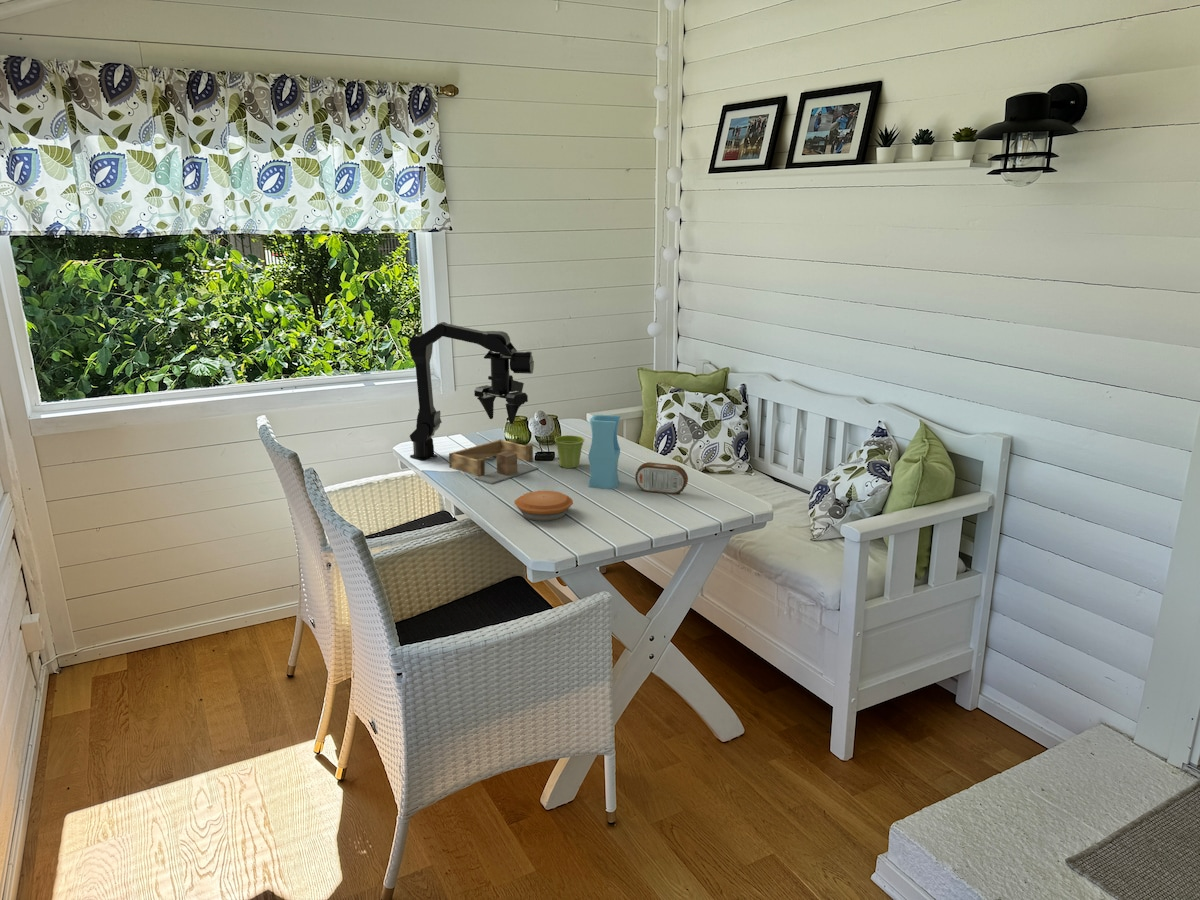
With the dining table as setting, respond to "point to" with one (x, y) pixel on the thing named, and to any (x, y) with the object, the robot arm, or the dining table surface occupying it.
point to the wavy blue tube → (604, 452)
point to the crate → (486, 455)
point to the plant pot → (569, 450)
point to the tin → (661, 478)
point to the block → (507, 463)
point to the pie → (543, 505)
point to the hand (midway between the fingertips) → (501, 421)
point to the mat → (497, 477)
